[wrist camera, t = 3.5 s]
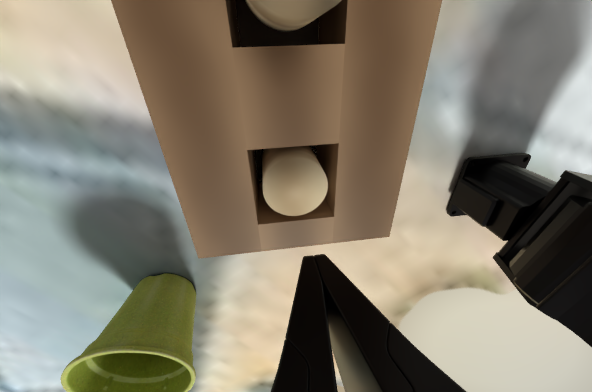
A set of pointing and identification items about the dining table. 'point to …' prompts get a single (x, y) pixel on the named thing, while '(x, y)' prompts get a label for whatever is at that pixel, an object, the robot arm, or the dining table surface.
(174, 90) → the jig block
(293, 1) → the peg near
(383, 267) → the dining table surface
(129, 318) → the plant pot
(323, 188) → the peg far
